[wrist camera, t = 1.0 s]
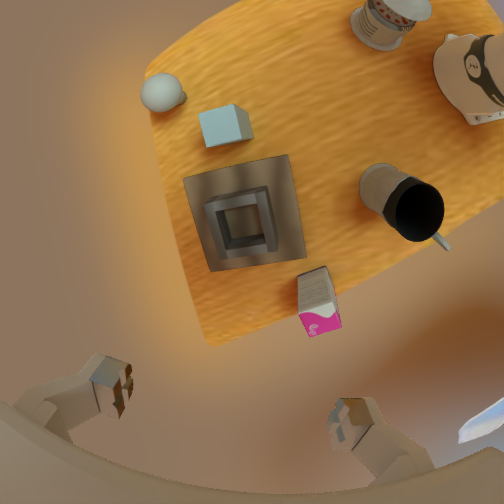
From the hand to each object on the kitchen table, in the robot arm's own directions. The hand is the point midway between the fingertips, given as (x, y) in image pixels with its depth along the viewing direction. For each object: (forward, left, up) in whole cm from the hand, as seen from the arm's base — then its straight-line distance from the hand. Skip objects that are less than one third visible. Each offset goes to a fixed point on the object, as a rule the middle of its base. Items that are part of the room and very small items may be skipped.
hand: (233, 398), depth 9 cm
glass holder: (-20, +5, -39) cm, 44 cm away
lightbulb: (+12, -19, -39) cm, 45 cm away
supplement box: (-4, +19, -39) cm, 43 cm away
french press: (-24, -27, -39) cm, 53 cm away
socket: (+6, +4, -39) cm, 39 cm away
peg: (+4, -11, -39) cm, 41 cm away
